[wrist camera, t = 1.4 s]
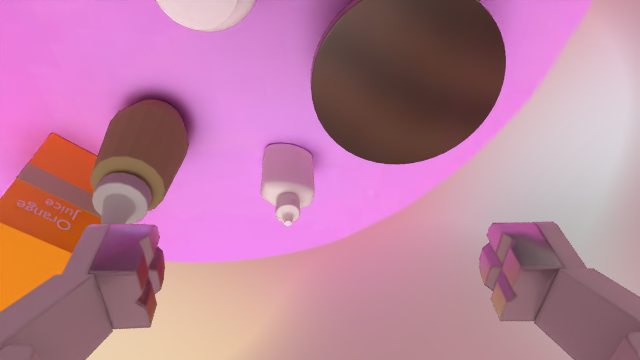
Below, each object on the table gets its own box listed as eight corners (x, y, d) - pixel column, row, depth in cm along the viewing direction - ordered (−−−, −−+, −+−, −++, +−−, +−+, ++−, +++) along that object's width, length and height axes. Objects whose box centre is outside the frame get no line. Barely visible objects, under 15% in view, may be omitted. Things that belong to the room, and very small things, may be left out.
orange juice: (98, 211, 60) (28, 353, 44) (25, 176, 56) (-80, 317, 40) (127, 170, 57) (63, 307, 40) (51, 130, 53) (-52, 263, 37)
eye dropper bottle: (293, 180, 59) (294, 249, 49) (257, 154, 56) (250, 221, 46) (317, 157, 57) (324, 225, 47) (281, 129, 54) (280, 195, 45)
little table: (345, -79, 42) (361, -54, 33) (496, -10, 47) (547, 29, 38) (284, 79, 51) (283, 133, 42) (416, 125, 55) (441, 184, 46)
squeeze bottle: (116, 82, 50) (46, 187, 36) (195, 94, 51) (159, 200, 37) (119, 148, 55) (59, 264, 40) (192, 157, 56) (159, 273, 41)
